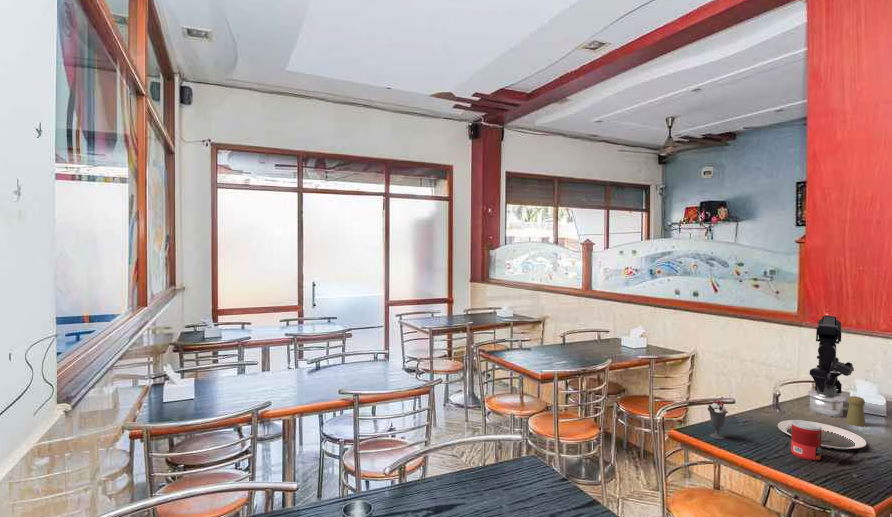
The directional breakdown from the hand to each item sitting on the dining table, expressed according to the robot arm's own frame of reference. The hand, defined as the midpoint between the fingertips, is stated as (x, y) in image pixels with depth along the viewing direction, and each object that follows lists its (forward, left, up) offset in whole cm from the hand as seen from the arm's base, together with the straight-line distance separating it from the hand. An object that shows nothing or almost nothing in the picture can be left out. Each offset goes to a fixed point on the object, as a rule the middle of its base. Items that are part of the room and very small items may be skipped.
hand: (826, 390), depth 196 cm
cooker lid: (0, 0, -3) cm, 3 cm away
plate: (+35, +10, -10) cm, 38 cm away
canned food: (+58, +14, -10) cm, 60 cm away
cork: (+6, +12, -10) cm, 16 cm away
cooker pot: (0, 0, -10) cm, 10 cm away
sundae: (+68, -10, -10) cm, 69 cm away
